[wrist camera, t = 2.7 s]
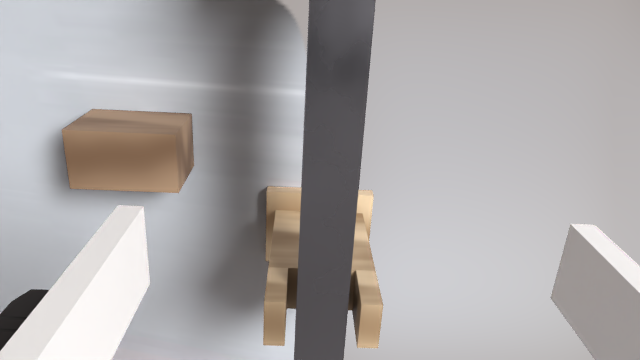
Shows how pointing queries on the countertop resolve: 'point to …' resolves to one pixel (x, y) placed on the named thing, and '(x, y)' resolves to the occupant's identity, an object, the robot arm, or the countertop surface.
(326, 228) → the rail
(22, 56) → the countertop surface
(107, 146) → the block
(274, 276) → the hook stand
